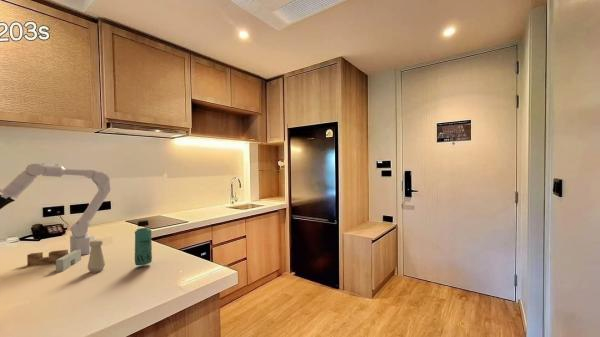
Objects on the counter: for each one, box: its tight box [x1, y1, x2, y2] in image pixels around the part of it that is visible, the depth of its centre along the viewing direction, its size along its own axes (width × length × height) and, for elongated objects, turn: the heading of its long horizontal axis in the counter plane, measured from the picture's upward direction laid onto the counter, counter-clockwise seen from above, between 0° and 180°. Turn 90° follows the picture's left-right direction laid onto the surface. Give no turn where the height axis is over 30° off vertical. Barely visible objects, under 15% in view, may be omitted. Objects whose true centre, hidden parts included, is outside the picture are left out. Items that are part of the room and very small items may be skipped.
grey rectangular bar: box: [55, 250, 82, 273], centre depth 115 cm, size 15×2×5 cm, turn 18°
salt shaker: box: [87, 238, 106, 274], centre depth 108 cm, size 6×6×13 cm
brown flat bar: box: [26, 249, 69, 267], centre depth 120 cm, size 14×2×5 cm, turn 108°
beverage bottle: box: [134, 219, 153, 266], centre depth 111 cm, size 6×7×20 cm
